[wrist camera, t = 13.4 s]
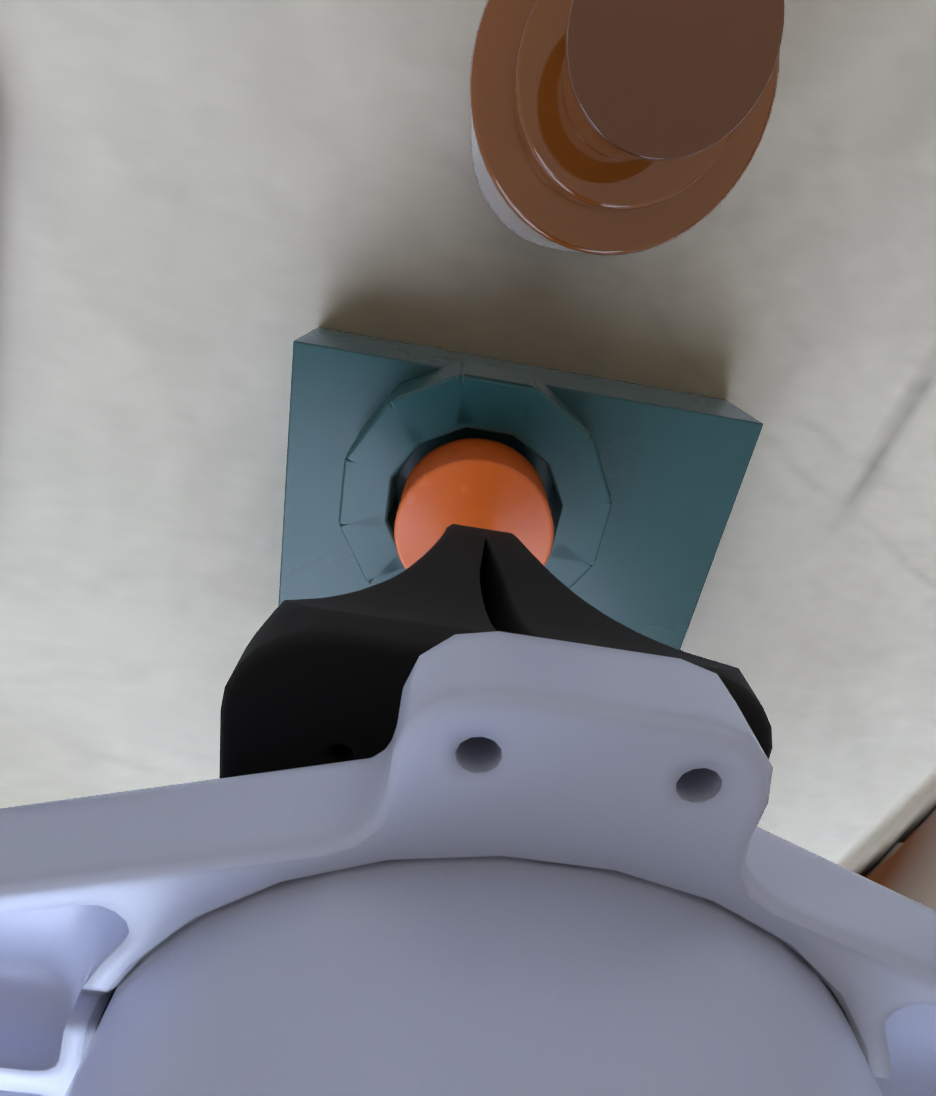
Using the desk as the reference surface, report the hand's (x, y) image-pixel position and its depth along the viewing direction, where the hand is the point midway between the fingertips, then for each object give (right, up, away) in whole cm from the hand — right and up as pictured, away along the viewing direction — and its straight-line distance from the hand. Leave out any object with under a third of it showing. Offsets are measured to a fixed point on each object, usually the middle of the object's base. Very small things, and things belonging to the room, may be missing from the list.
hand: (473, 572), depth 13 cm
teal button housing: (+1, +2, +7) cm, 8 cm away
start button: (0, +2, +3) cm, 3 cm away
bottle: (+2, +11, +3) cm, 12 cm away
